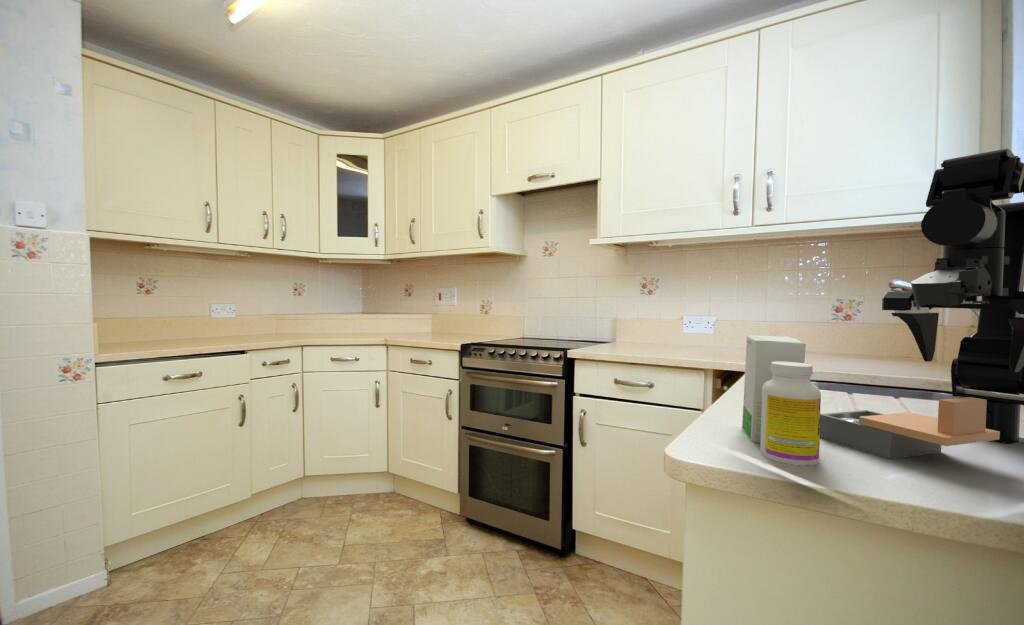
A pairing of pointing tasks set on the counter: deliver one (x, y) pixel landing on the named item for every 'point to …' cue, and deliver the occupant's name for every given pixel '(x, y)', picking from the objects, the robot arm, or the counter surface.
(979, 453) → the counter surface
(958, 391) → the robot arm
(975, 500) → the counter surface
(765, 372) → the skincare box
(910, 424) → the lid
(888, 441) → the tub
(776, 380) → the supplement bottle
